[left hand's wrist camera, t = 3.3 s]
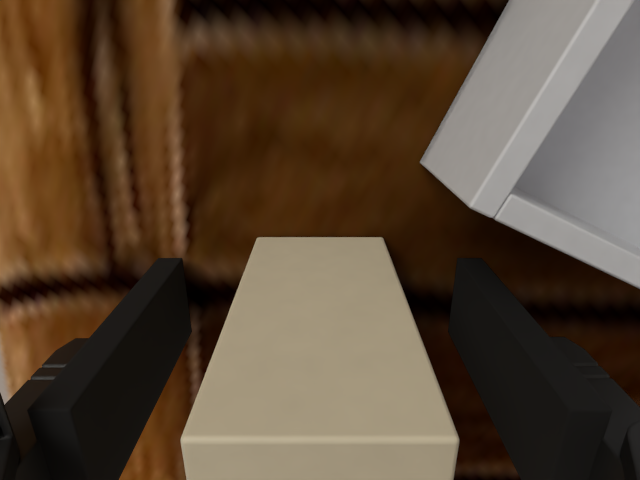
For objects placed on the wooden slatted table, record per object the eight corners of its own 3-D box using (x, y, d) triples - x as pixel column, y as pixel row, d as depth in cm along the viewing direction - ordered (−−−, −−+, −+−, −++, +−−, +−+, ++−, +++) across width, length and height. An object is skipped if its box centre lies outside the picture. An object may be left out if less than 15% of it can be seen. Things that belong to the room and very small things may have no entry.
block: (383, 236, 13) (462, 439, 6) (377, 343, 15) (434, 613, 7) (256, 236, 13) (177, 439, 6) (262, 343, 15) (205, 614, 7)
